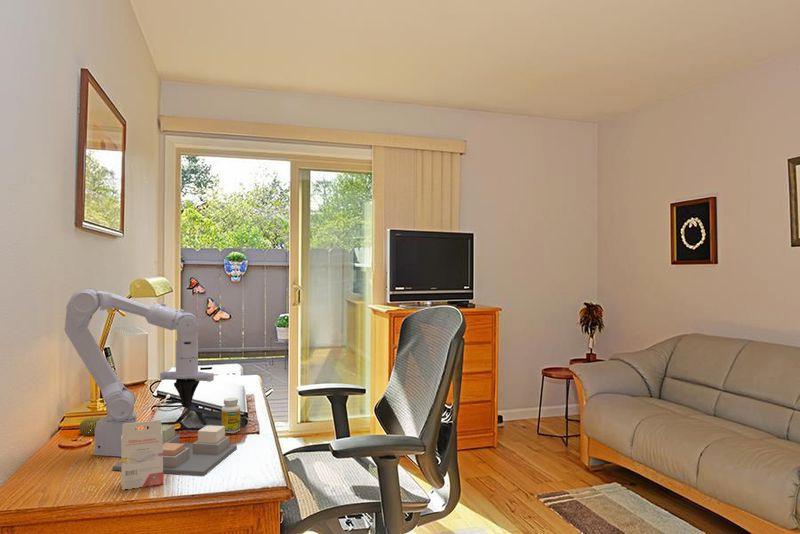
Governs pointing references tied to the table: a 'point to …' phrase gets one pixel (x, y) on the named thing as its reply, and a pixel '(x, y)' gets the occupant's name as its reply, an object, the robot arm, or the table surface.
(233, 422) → the supplement bottle
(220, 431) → the cream button
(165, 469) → the board
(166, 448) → the terracotta button
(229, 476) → the table surface
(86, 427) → the sculpture
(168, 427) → the sage button
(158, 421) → the ink cartridge box
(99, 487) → the table surface
